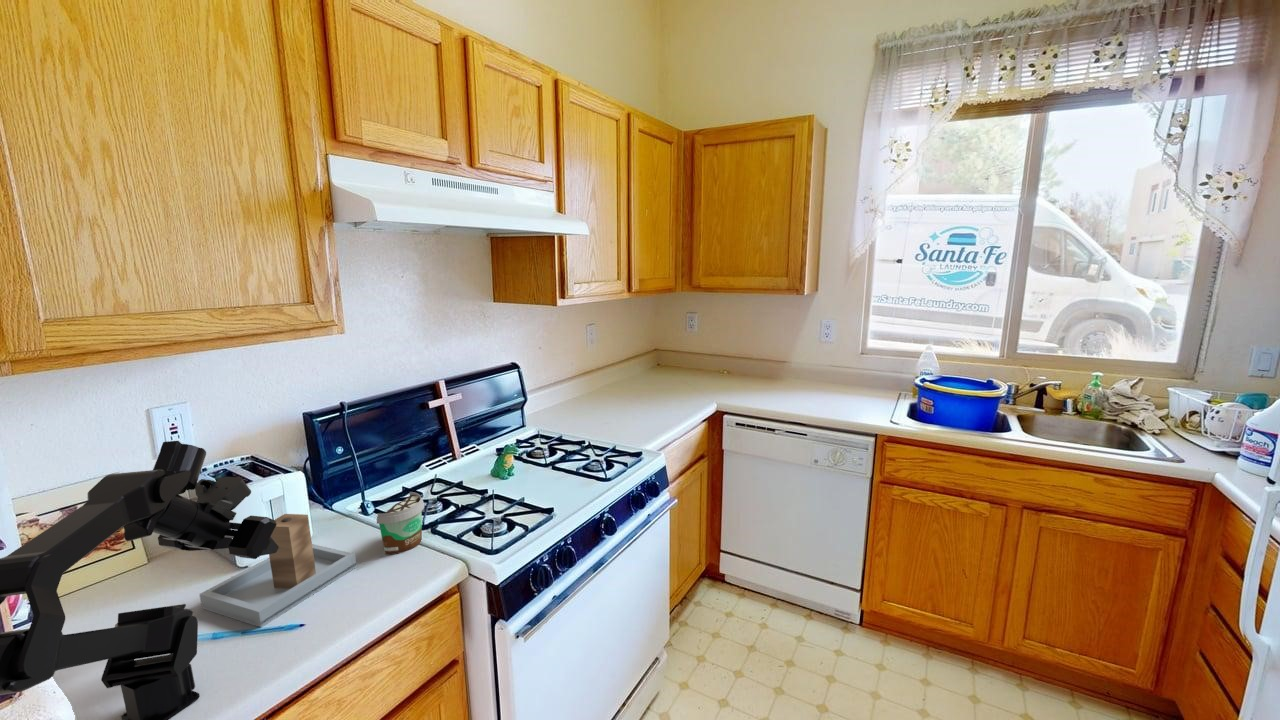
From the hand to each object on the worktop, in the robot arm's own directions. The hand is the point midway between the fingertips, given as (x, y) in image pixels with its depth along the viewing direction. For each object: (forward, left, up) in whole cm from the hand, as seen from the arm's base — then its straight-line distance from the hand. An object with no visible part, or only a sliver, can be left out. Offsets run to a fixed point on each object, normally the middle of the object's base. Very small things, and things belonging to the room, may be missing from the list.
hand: (255, 547), depth 94 cm
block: (+9, +4, -13) cm, 16 cm away
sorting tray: (+8, +6, -14) cm, 17 cm away
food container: (+29, -6, -14) cm, 32 cm away
